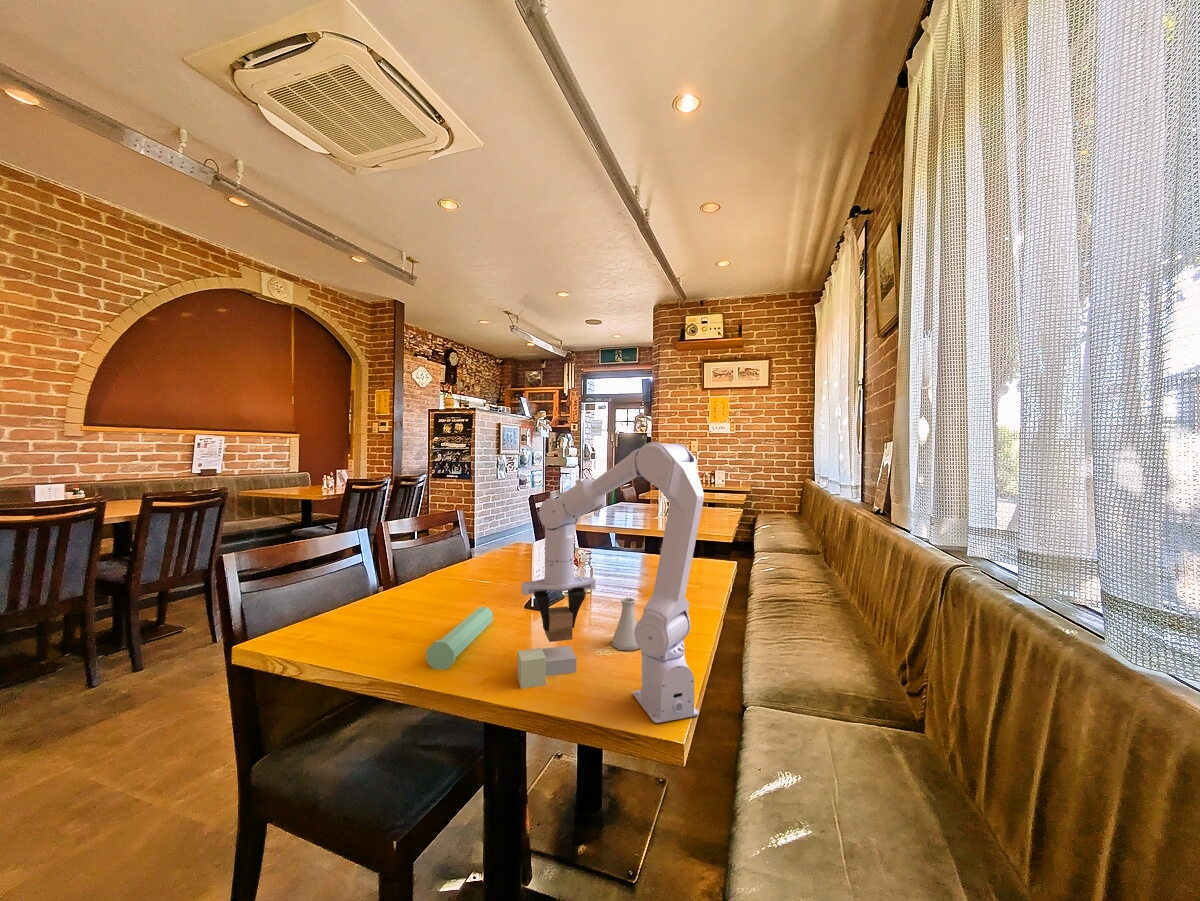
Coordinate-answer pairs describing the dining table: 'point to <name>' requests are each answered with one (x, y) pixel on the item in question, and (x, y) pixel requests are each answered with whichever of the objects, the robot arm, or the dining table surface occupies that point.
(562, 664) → the stone slab
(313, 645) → the dining table surface
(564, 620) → the walnut block
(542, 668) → the sage block
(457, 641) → the green octagonal rod
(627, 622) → the flask
